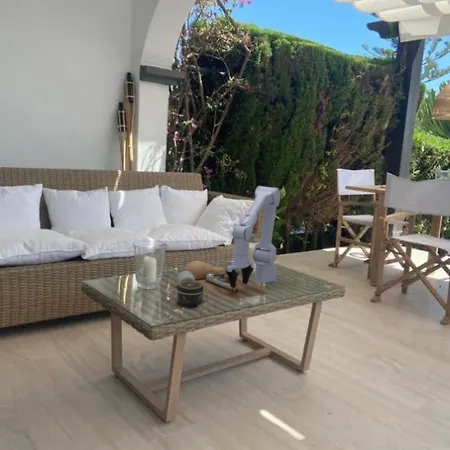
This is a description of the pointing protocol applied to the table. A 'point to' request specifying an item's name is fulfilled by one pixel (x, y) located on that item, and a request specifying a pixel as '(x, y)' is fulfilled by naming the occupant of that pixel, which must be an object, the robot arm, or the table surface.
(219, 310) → the table surface
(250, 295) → the board
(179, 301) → the jar
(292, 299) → the table surface
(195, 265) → the squash
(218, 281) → the lever
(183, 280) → the ceramic mug
